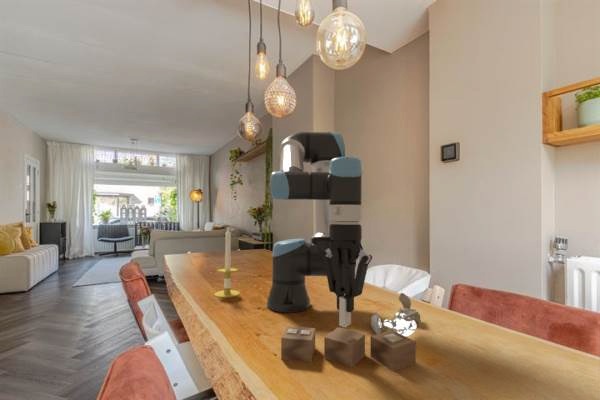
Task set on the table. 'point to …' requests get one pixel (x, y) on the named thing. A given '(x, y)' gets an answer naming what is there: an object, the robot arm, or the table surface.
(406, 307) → the bone
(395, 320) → the figurine
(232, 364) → the table surface
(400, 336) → the dot block one
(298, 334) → the dot block two
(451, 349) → the table surface
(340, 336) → the plain block
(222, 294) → the candle
